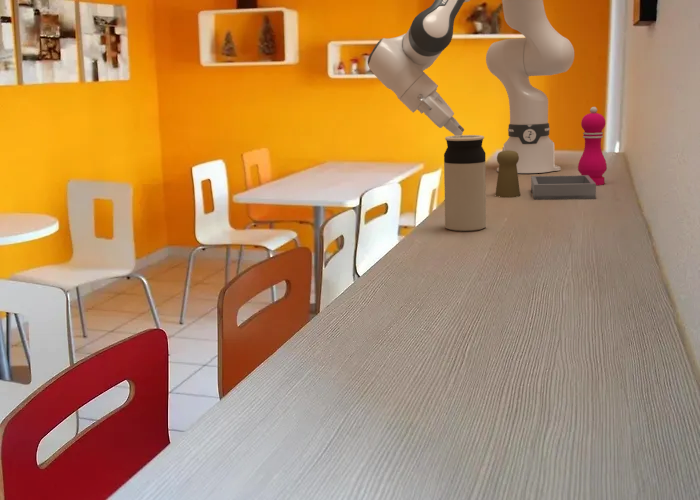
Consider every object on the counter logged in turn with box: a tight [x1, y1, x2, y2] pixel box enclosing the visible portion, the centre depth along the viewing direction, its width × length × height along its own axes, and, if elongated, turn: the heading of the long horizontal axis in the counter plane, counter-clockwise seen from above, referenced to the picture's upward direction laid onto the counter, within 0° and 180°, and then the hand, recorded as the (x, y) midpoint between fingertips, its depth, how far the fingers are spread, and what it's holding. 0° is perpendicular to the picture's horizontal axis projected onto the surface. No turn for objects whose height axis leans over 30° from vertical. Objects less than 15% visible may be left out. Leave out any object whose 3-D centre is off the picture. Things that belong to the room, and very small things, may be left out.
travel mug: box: [443, 134, 487, 232], centre depth 159 cm, size 8×8×18 cm
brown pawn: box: [495, 150, 521, 198], centre depth 198 cm, size 6×6×11 cm
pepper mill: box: [577, 106, 608, 187], centre depth 211 cm, size 7×7×20 cm
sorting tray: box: [530, 174, 597, 201], centre depth 198 cm, size 16×14×4 cm
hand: (461, 134), depth 198 cm, fingers open, 8 cm apart
